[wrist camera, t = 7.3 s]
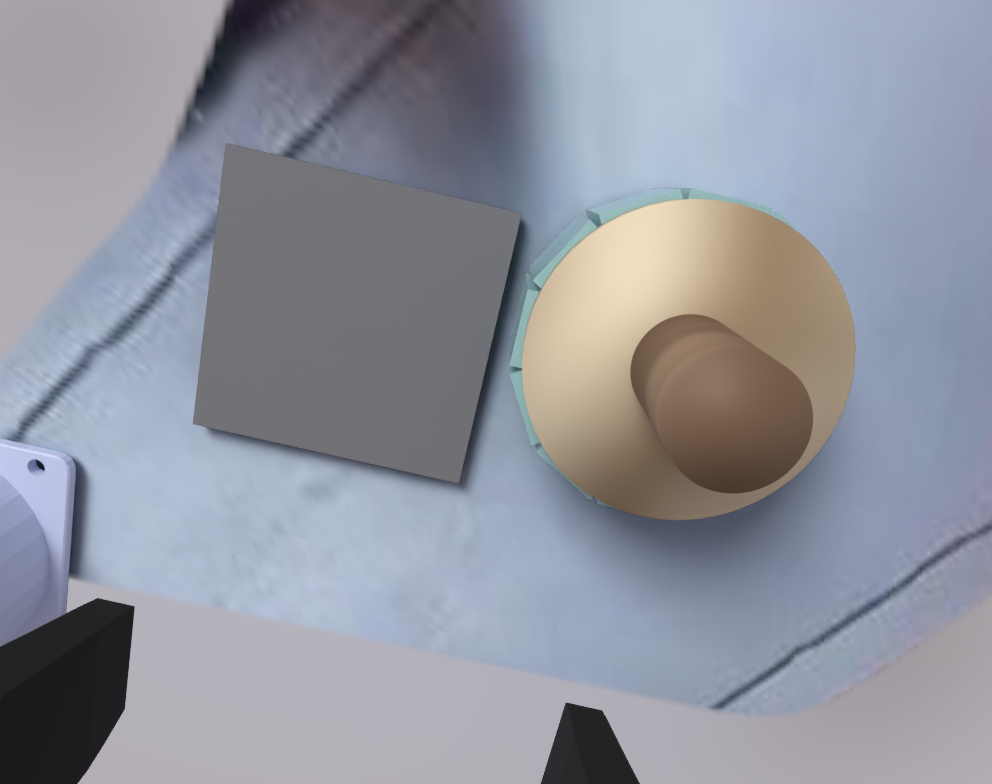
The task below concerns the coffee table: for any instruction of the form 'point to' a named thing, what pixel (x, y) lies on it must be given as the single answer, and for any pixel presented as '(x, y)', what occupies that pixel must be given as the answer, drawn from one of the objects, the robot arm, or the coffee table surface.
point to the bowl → (556, 253)
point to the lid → (687, 358)
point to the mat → (349, 313)
